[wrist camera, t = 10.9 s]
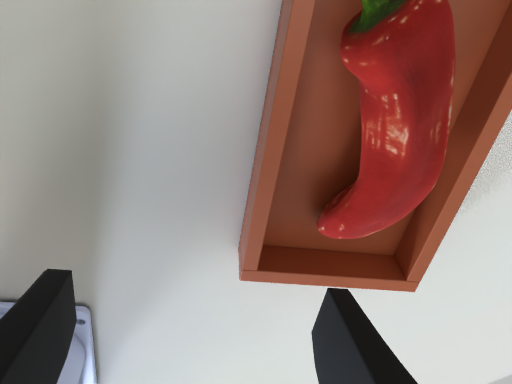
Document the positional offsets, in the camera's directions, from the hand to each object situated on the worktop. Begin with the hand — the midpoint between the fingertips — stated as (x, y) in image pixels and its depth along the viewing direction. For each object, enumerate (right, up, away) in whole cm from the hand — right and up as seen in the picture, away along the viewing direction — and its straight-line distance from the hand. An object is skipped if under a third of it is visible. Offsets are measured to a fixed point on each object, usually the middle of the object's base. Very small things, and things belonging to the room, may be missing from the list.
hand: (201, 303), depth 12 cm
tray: (+7, +7, +7) cm, 12 cm away
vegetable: (+7, +7, +7) cm, 12 cm away
